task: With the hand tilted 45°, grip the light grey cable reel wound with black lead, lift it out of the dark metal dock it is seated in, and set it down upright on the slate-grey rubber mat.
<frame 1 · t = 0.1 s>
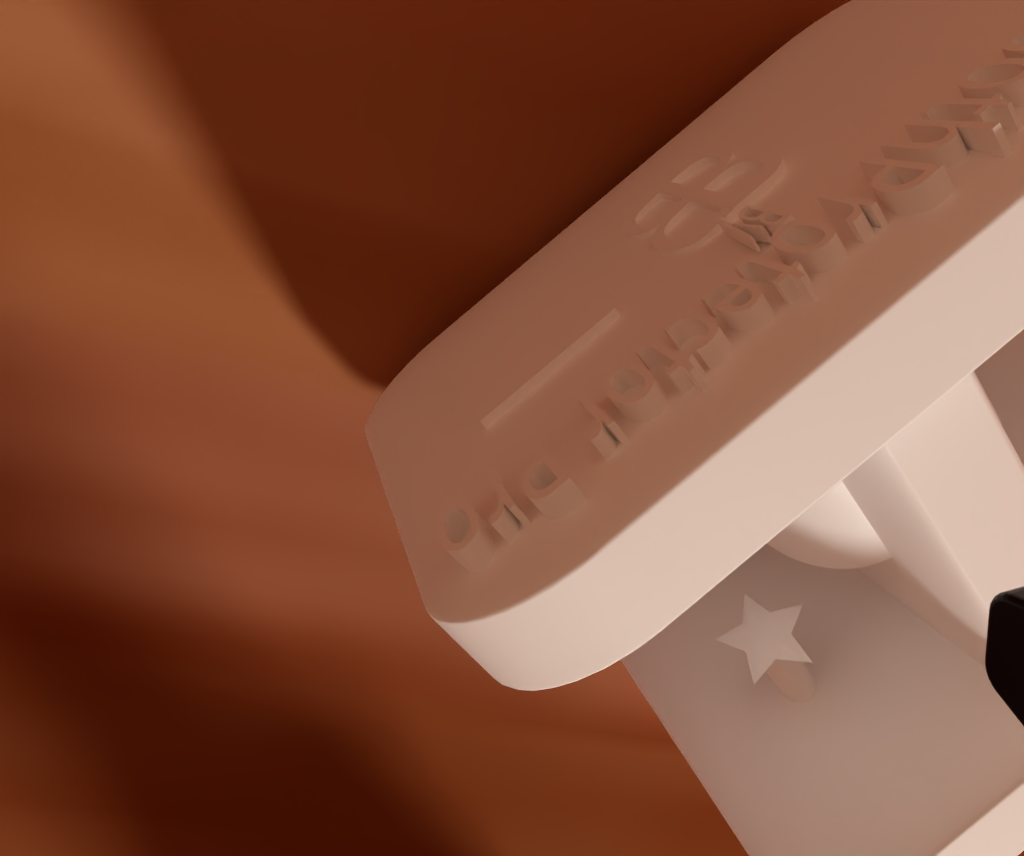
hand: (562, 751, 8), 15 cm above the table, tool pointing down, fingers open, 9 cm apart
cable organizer: (695, 338, 24), on the table
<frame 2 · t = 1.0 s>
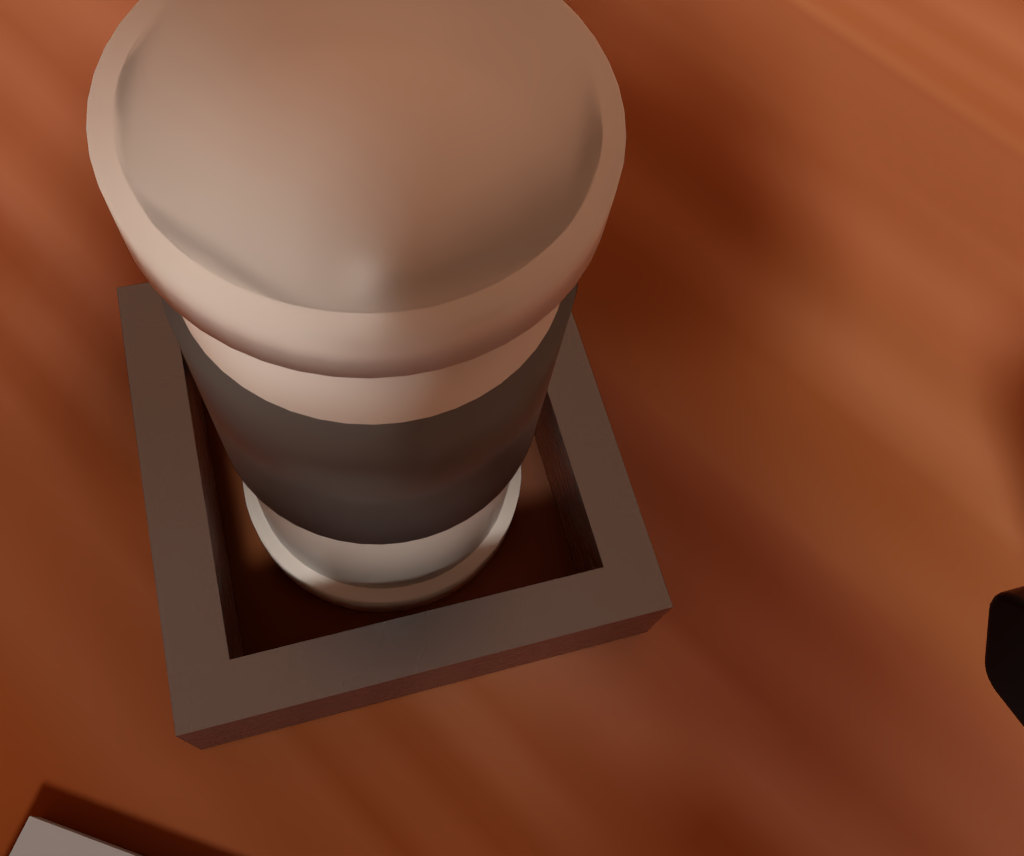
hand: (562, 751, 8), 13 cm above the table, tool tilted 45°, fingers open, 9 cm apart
cable reel: (378, 355, 18), in the reel dock
reel dock: (385, 480, 24), on the table
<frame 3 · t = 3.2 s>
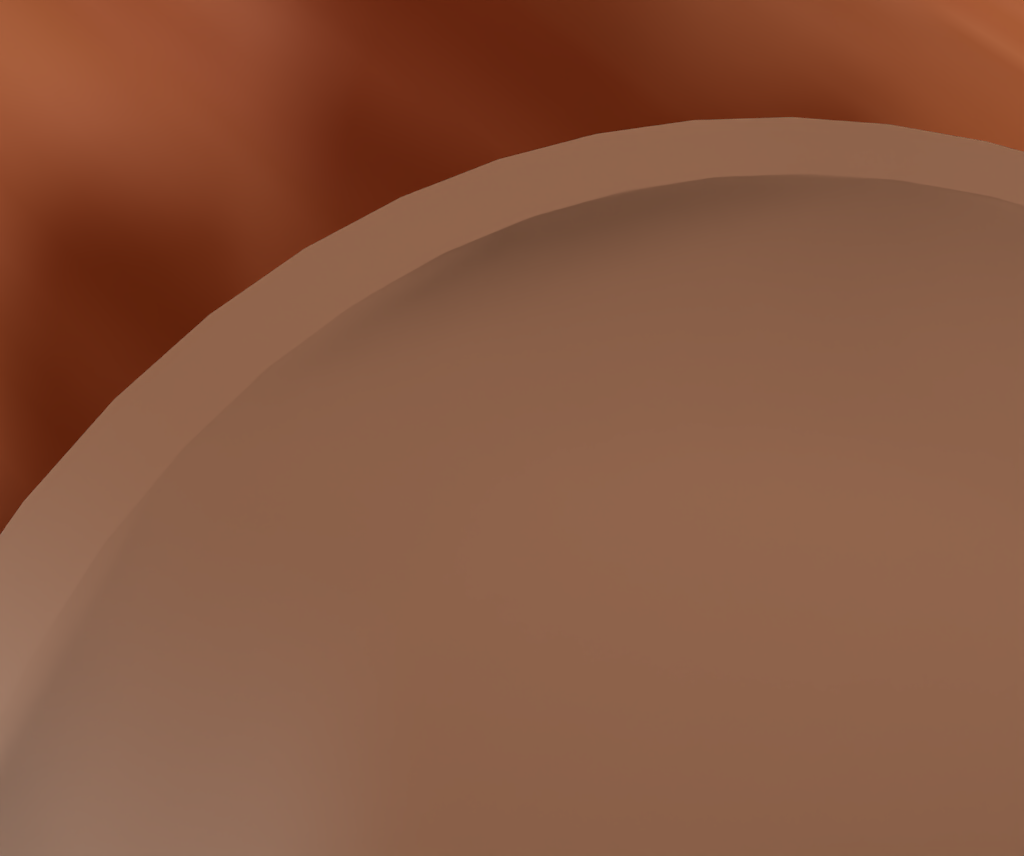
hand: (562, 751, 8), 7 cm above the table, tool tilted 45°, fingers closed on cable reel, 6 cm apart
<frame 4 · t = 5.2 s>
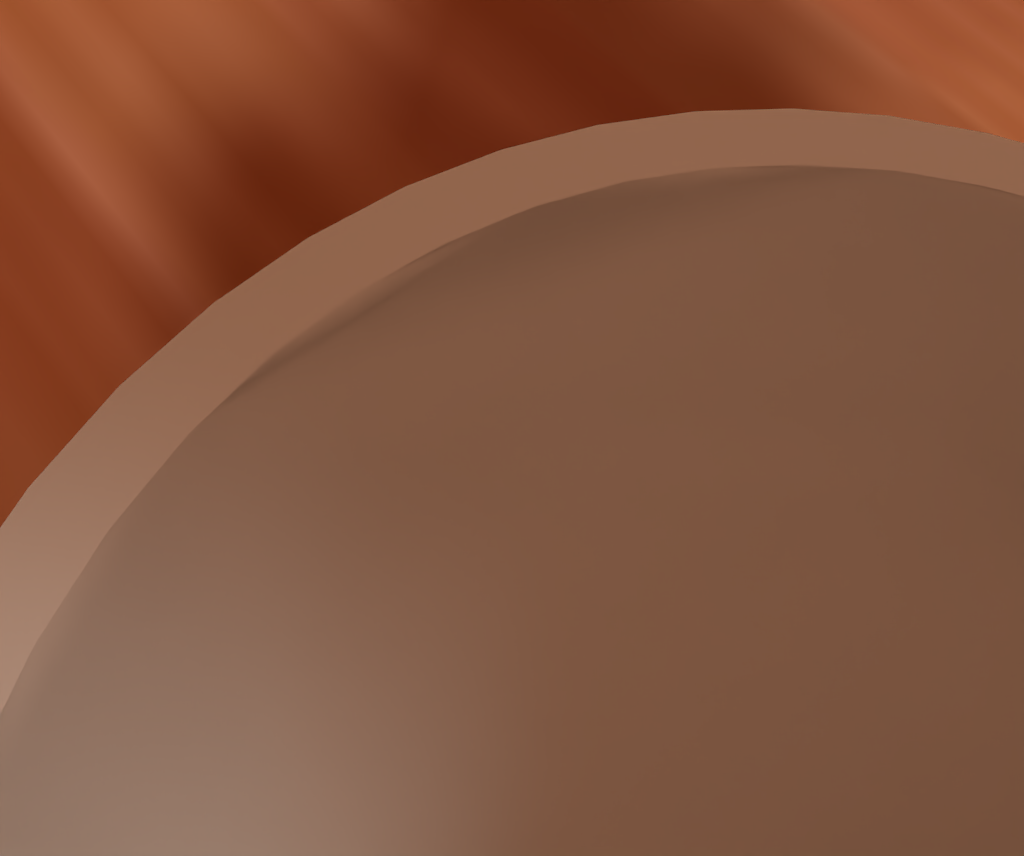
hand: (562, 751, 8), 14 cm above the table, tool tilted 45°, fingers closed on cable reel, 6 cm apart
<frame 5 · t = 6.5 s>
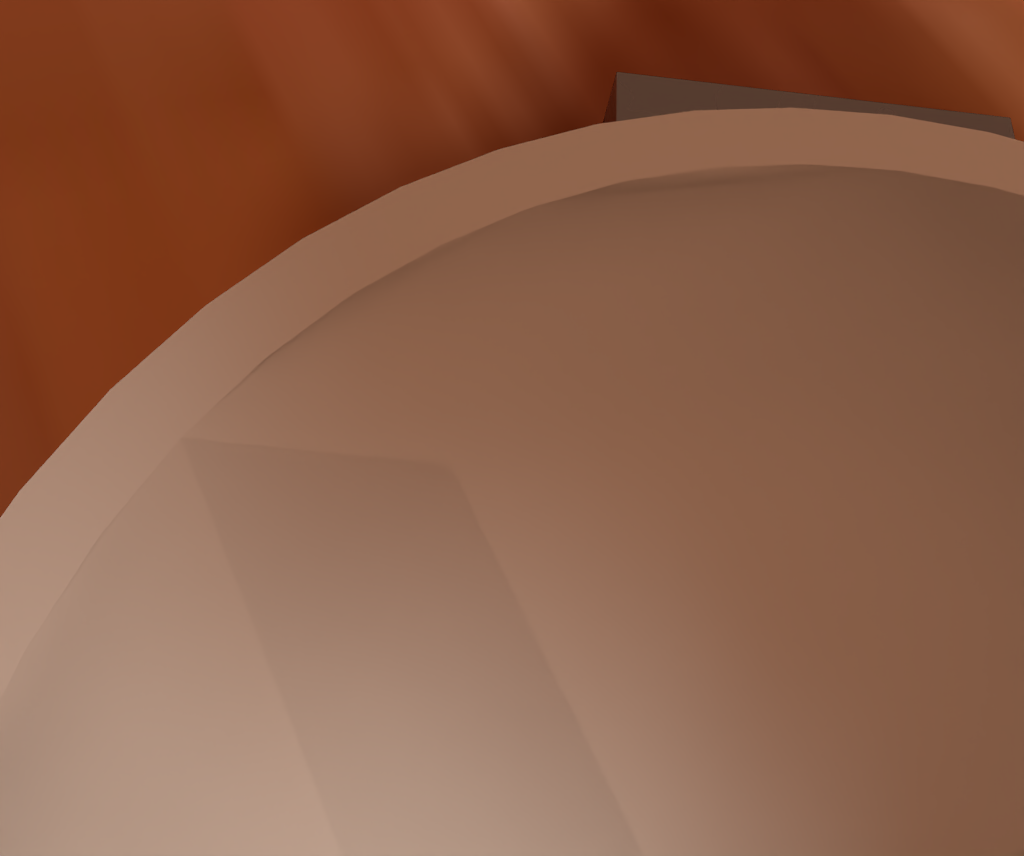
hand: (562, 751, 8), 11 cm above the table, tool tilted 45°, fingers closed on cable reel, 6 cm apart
reel dock: (795, 319, 24), on the table
when the fingers open (9 cm above the table, at t = 7.5 s): cable reel drops 1 cm, resting on rubber mat.
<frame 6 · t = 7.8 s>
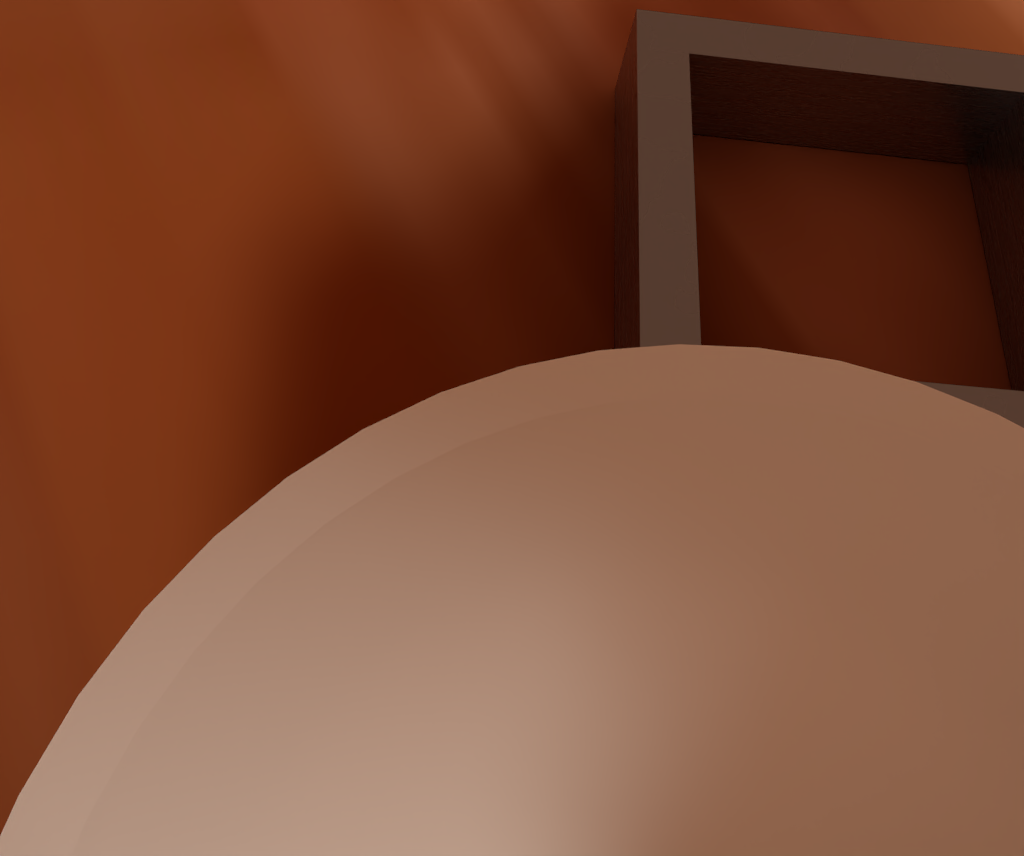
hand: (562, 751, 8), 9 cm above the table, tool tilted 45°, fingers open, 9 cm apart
reel dock: (831, 279, 22), on the table
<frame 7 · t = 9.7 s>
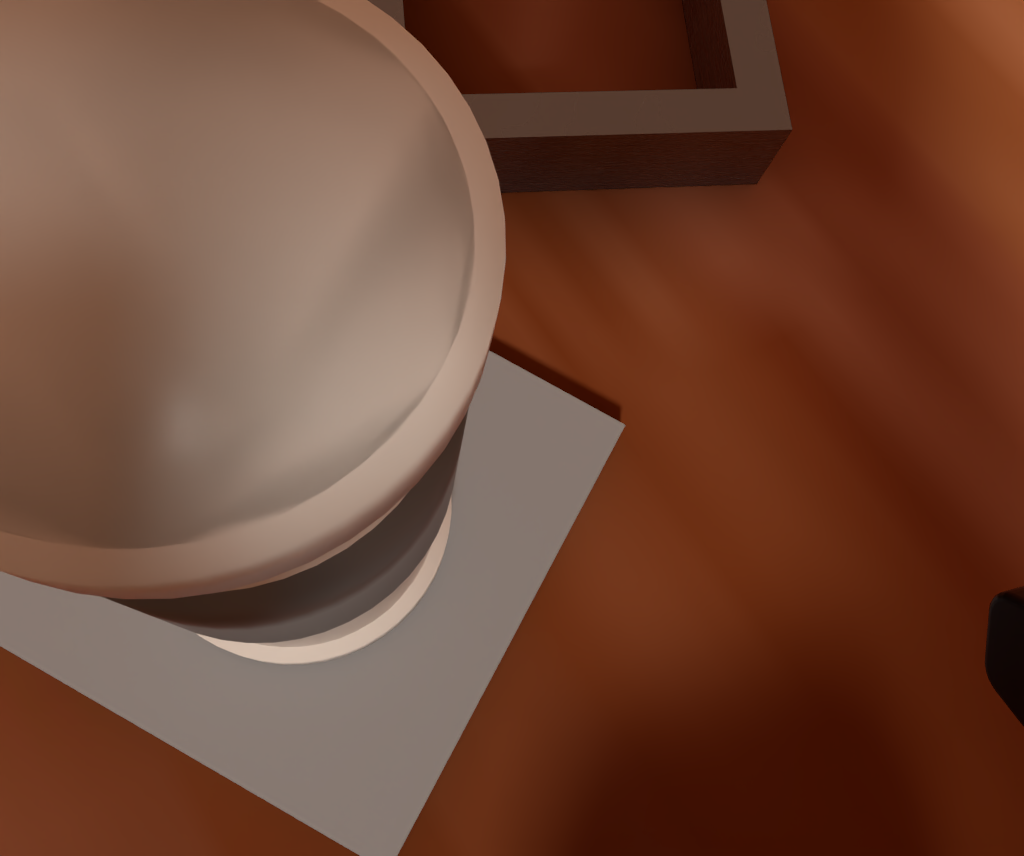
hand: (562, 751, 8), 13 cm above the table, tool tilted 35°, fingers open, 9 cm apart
cable reel: (257, 429, 15), on the rubber mat, point 7 cm above the table
reel dock: (545, 23, 26), on the table
rubber mat: (304, 515, 22), on the table
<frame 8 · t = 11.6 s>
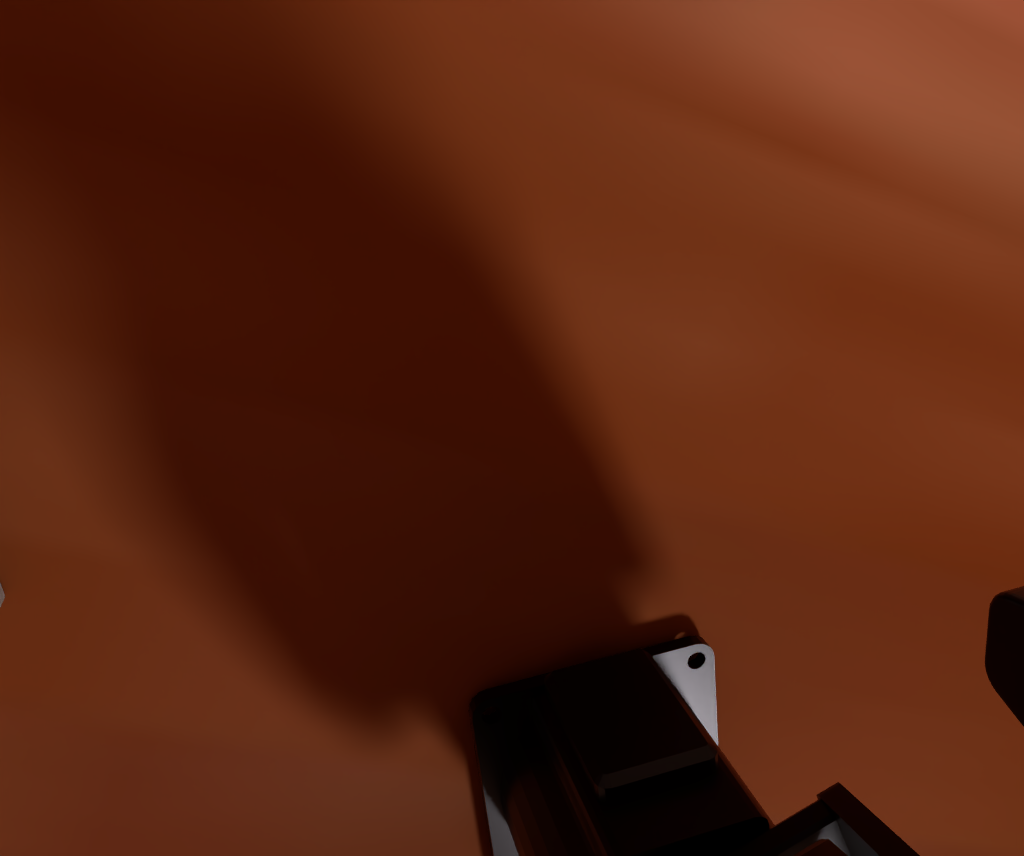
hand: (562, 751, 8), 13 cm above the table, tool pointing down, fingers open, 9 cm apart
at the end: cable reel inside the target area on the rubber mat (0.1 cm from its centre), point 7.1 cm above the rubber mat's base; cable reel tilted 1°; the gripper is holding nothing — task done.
